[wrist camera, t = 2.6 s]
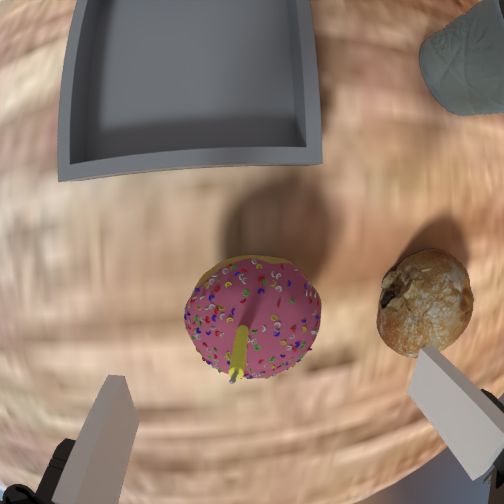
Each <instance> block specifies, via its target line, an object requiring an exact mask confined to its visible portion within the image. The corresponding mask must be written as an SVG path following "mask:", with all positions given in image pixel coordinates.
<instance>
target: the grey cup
mask: <svg viewBox="0 0 504 504" xmlns="http://www.w3.org/2000/svg"><path fill="white" fill-rule="evenodd" d="M419 63H420V68H421V72H422V75H423V78H424V80H425V82H426V84H427V86H428V88H429V90H430V91H431V93H432V94H433V96H434V97H435V99H436V100H437V101H438V102H439V103H440V104H441V105H442V106H443V107H445V108H446V109H447V111H451V112H452V113H453V114H457V115H462V116H469V115H475V114H479V115H481V114H493V113H496V114H498V113H504V0H482V1H481V2H479V3H478V4H476V5H475V6H473V7H472V8H471V9H470V11H468V12H466V14H465V15H463V14H462V15H461V16H459V17H458V18H457V19H455V20H454V21H452V22H451V23H450V24H448V25H447V26H446V28H443V30H442V31H438V32H436V33H435V34H434V35H432V36H431V37H430V38H428V39H427V40H426V41H425V42H424V43H423V44H422V46H421V49H420V52H419Z"/></svg>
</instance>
